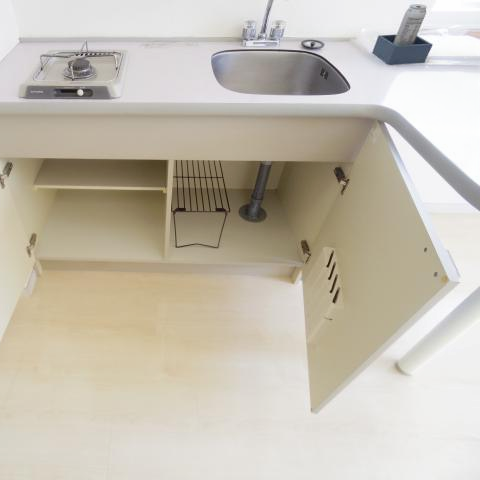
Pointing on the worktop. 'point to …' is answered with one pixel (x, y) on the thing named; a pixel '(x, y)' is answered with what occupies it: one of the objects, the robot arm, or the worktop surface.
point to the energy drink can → (410, 25)
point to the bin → (401, 50)
